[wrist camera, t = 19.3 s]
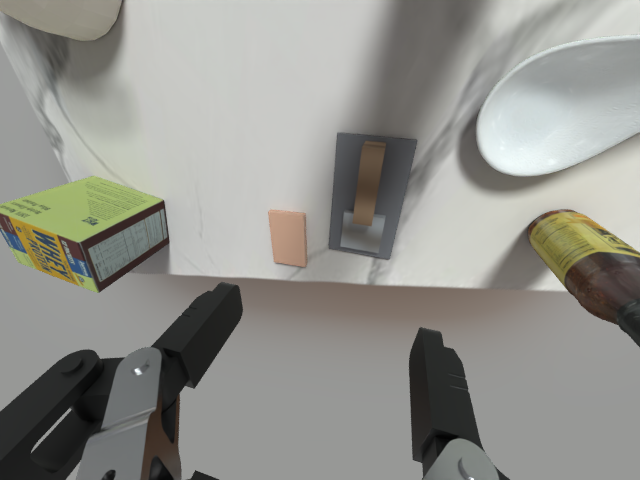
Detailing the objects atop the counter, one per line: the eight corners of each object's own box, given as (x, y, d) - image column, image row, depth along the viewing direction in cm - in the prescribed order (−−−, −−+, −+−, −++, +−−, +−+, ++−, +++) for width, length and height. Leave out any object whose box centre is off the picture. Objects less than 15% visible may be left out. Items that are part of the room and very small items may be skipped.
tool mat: (338, 132, 34) (337, 133, 33) (417, 139, 32) (417, 140, 31) (329, 246, 43) (328, 248, 43) (389, 257, 42) (389, 259, 41)
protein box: (92, 174, 49) (-16, 207, 36) (164, 199, 47) (78, 242, 35) (106, 220, 55) (16, 263, 42) (170, 244, 53) (98, 295, 40)
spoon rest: (483, 183, 33) (502, 205, 27) (456, 90, 29) (471, 92, 23) (789, 73, 22) (929, 69, 16) (814, -98, 18) (1014, -184, 12)
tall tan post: (352, 139, 33) (347, 145, 30) (400, 144, 32) (400, 150, 29) (341, 243, 42) (336, 256, 38) (378, 249, 41) (377, 264, 37)
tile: (268, 212, 42) (274, 261, 47) (303, 216, 40) (305, 267, 46) (272, 208, 43) (277, 257, 48) (306, 212, 42) (308, 261, 47)
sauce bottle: (592, 235, 32) (792, 390, 16) (535, 256, 36) (653, 404, 19) (573, 194, 31) (773, 322, 14) (514, 220, 34) (624, 349, 17)
